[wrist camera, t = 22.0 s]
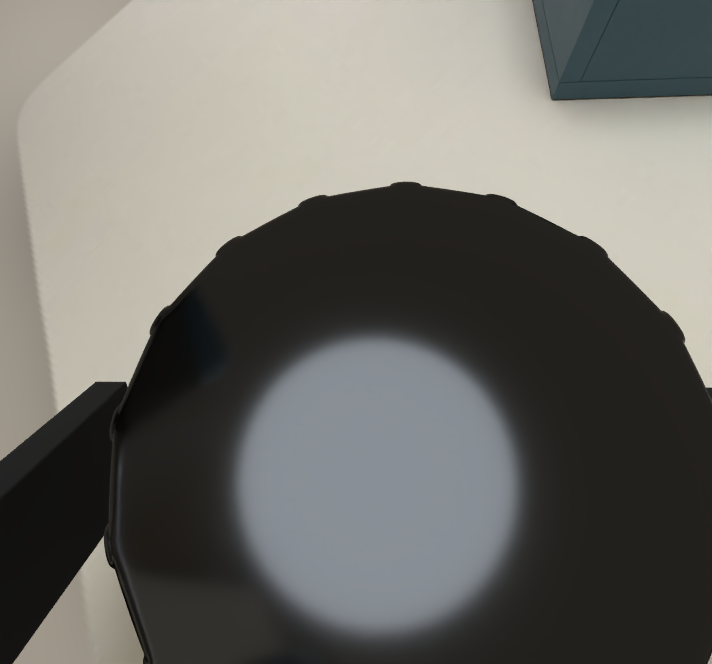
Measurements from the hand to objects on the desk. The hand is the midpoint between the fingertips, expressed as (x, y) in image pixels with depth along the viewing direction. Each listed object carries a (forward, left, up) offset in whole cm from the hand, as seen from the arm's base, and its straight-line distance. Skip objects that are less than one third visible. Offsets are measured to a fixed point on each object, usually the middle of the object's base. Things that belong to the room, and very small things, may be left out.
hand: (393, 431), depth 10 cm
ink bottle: (+1, -1, -6) cm, 6 cm away
